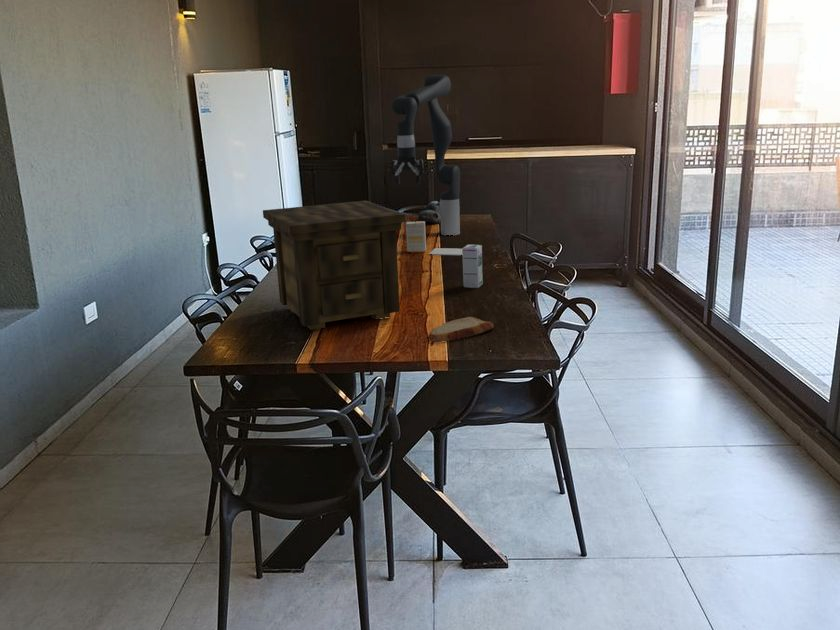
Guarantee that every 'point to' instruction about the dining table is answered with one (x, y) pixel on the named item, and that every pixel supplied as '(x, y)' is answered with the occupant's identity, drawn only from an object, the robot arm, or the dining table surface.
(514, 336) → the dining table surface
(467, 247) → the syrup box
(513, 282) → the dining table surface
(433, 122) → the robot arm
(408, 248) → the supplement box
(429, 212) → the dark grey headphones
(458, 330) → the slice of bread
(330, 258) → the wooden bedside nightstand
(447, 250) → the felt pad
